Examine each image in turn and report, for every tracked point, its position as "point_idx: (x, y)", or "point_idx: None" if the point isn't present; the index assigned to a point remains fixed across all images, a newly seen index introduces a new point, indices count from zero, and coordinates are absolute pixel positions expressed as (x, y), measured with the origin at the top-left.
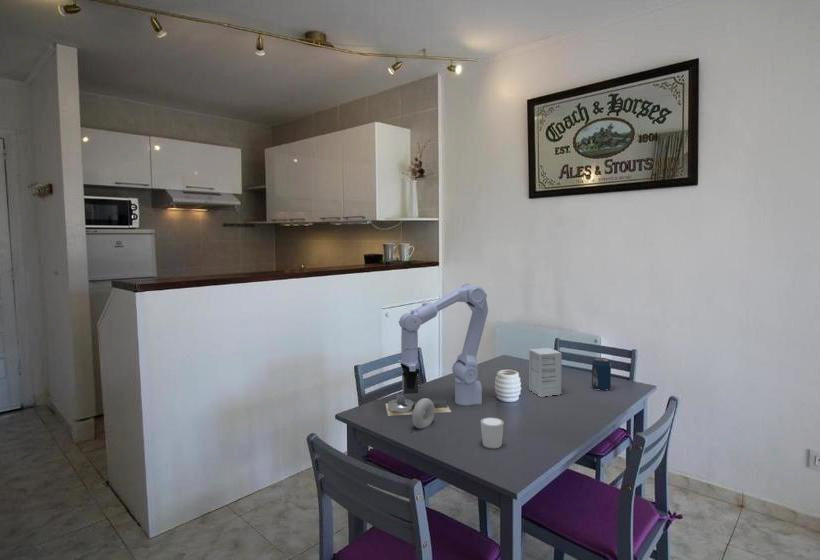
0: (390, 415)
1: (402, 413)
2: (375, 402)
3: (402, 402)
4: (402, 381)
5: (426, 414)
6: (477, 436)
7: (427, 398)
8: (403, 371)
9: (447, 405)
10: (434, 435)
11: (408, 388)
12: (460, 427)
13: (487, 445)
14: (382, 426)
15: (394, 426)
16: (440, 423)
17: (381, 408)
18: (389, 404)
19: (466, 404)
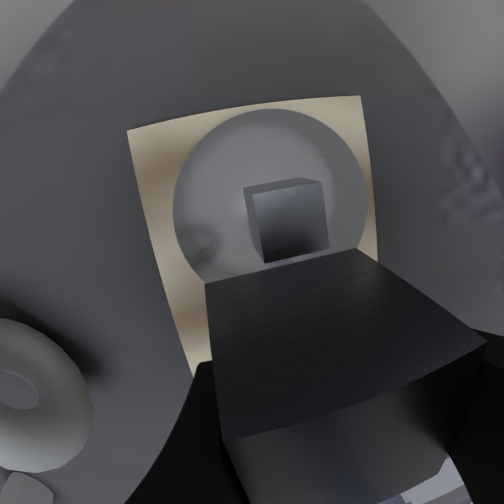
0: (133, 146)
1: (172, 226)
2: (406, 50)
3: (251, 231)
4: (369, 300)
5: (39, 395)
6: (57, 476)
7: (14, 468)
8: (499, 369)
9: None
10: (4, 377)
11: (197, 369)
12: (103, 456)
13: (8, 478)
14: (32, 123)
15: (35, 192)
16: (119, 407)
17: (321, 74)
18: (242, 122)
19: None
